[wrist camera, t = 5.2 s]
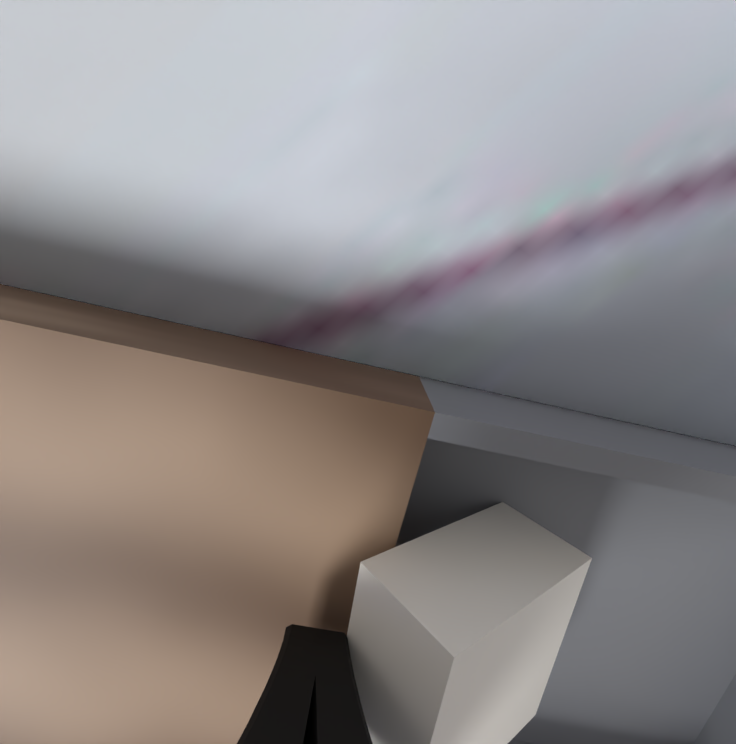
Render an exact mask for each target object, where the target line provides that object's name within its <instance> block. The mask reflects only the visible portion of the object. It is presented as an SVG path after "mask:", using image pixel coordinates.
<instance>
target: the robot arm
mask: <svg viewBox="0 0 736 744" xmlns="http://www.w3.org/2000/svg"><path fill="white" fill-rule="evenodd" d="M237 744H372V740H371V737H370V733H369V730H368V726H367V723H366V720H365V716H364V713H363V709H362V705H361V701H360V697H359V693H358V689H357V685H356V680H355V676H354V671H353V667H352V661H351V656H350V650H349V644H348V638H347V636H346V634H345V633H344V632H338V631H332V630H325V629H319V628H313V627H307V626H301V625H295V624H291V625H289V626H288V627H286V629H285V634H284V638H283V642H282V645H281V648H280V651H279V654H278V657H277V660H276V662H275V665H274V667H273V670H272V672H271V674H270V677H269V679H268V682H267V684H266V686H265V688H264V690H263V692H262V695H261V697H260V699H259V701H258V703H257V705H256V707H255V709H254V711H253V713H252V715H251V717H250V720H249V722H248V724H247V725H246V727H245V729H244V731H243V733H242V735H241V737H240V739H239V740H238V742H237Z"/></svg>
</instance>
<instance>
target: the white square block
mask: <svg viewBox="0 0 736 744" xmlns="http://www.w3.org/2000/svg"><path fill="white" fill-rule="evenodd" d="M591 560H592V558H591V557H590V556H588V555H586V554H585V553H583V552H582V551H580V550H578V549H577V548H575V547H574V546H572V545H571V544H569V543H567V542H566V541H564V540H563V539H561V538H559V537H558V536H556V535H555V534H553V533H551V532H550V531H548V530H547V529H545V528H543V527H542V526H540V525H539V524H537V523H535V522H534V521H532V520H531V519H529V518H527V517H526V516H524V515H523V514H521V513H520V512H518V511H516V510H515V509H513V508H512V507H510V506H508V505H507V504H505V503H504V502H501V503H499V504H496V505H494V506H492V507H489V508H487V509H485V510H482V511H480V512H477V513H475V514H473V515H470V516H468V517H466V518H463V519H461V520H458V521H456V522H454V523H451V524H449V525H447V526H444V527H442V528H439V529H437V530H435V531H432V532H430V533H428V534H425V535H423V536H420V537H418V538H416V539H413V540H411V541H409V542H406V543H404V544H401V545H399V546H397V547H394V548H392V549H390V550H387V551H385V552H383V553H380V554H378V555H375V556H373V557H371V558H368V559H366V560H364V561H361V562H360V568H359V573H358V578H357V584H356V589H355V594H354V600H353V605H352V610H351V616H350V621H349V626H348V632H347V638H348V644H349V650H350V656H351V661H352V667H353V671H354V676H355V680H356V685H357V689H358V693H359V697H360V701H361V705H362V709H363V713H364V716H365V720H366V723H367V726H368V730H369V733H370V737H371V740H372V744H508V743H509V742H510V741H511V740H512V739H513V738H514V737H515V736H516V735H517V734H518V732H519V731H520V730H521V729H522V728H523V727H524V726H525V725H526V724H527V723H528V722H529V721H530V720H531V719H532V718H533V717H534V716H535V715H536V712H537V709H538V707H539V704H540V701H541V698H542V695H543V693H544V690H545V687H546V684H547V682H548V679H549V676H550V673H551V671H552V668H553V665H554V662H555V659H556V657H557V654H558V651H559V648H560V646H561V643H562V640H563V637H564V634H565V632H566V629H567V626H568V623H569V621H570V618H571V615H572V612H573V610H574V607H575V604H576V601H577V598H578V596H579V593H580V590H581V587H582V585H583V582H584V579H585V576H586V573H587V571H588V568H589V565H590V562H591Z"/></svg>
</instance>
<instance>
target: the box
mask: <svg viewBox="0 0 736 744" xmlns="http://www.w3.org/2000/svg"><path fill="white" fill-rule="evenodd" d="M419 378H420V380H421V382H422V385H423V387H424V389H425V391H426V393H427V396H428V398H429V400H430V402H431V404H432V407H433V409H434V411H435V414H434V418H433V421H432V424H431V428H430V431H429V434H428V438H427V441H426V445H425V448H424V451H423V455H422V458H421V461H420V465H419V468H418V472H417V475H416V478H415V482H414V485H413V488H412V492H411V495H410V498H409V502H408V505H407V509H406V512H405V515H404V519H403V522H402V525H401V529H400V532H399V536H398V539H397V542H396V546H395V547H397V546H399V545H401V544H404V543H406V542H409V541H411V540H413V539H416V538H418V537H420V536H423V535H425V534H428V533H430V532H432V531H435V530H437V529H439V528H442V527H444V526H447V525H449V524H451V523H454V522H456V521H458V520H461V519H463V518H466V517H468V516H470V515H473V514H475V513H477V512H480V511H482V510H485V509H487V508H489V507H492V506H494V505H496V504H499V503H501V502H504V503H505V504H507V505H508V506H510V507H512V508H513V509H515V510H516V511H518V512H520V513H521V514H523V515H524V516H526V517H527V518H529V519H531V520H532V521H534V522H535V523H537V524H539V525H540V526H542V527H543V528H545V529H547V530H548V531H550V532H551V533H553V534H555V535H556V536H558V537H559V538H561V539H563V540H564V541H566V542H567V543H569V544H571V545H572V546H574V547H575V548H577V549H578V550H580V551H582V552H583V553H585V554H586V555H588V556H590V557H591V558H592V560H591V562H590V565H589V568H588V571H587V573H586V576H585V579H584V582H583V585H582V587H581V590H580V593H579V596H578V598H577V601H576V604H575V607H574V610H573V612H572V615H571V618H570V621H569V623H568V626H567V629H566V632H565V634H564V637H563V640H562V643H561V646H560V648H559V651H558V654H557V657H556V659H555V662H554V665H553V668H552V671H551V673H550V676H549V679H548V682H547V684H546V687H545V690H544V693H543V695H542V698H541V701H540V704H539V707H538V709H537V712H536V715H535V716H534V717H533V718H532V719H531V720H530V721H529V722H528V723H527V724H526V725H525V726H524V727H523V728H522V729H521V730H520V731H519V732H518V734H517V735H516V736H515V737H514V738H513V739H512V740H511V741H510V742H509V743H508V744H736V446H732V445H727V444H723V443H718V442H714V441H709V440H705V439H700V438H695V437H691V436H686V435H682V434H677V433H673V432H668V431H664V430H659V429H655V428H650V427H646V426H641V425H637V424H632V423H627V422H623V421H618V420H614V419H609V418H605V417H600V416H596V415H591V414H587V413H582V412H578V411H573V410H569V409H564V408H559V407H555V406H550V405H546V404H541V403H537V402H532V401H528V400H523V399H519V398H514V397H510V396H505V395H500V394H496V393H491V392H487V391H482V390H478V389H473V388H469V387H464V386H460V385H455V384H451V383H446V382H442V381H437V380H432V379H428V378H423V377H419Z"/></svg>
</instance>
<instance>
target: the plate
mask: <svg viewBox="0 0 736 744" xmlns="http://www.w3.org/2000/svg"><path fill="white" fill-rule="evenodd" d="M434 414H435V411H434V409H433V407H432V404H431V402H430V400H429V398H428V396H427V393H426V391H425V389H424V387H423V385H422V382H421V380H420V378H419V376H414V375H410V374H405V373H401V372H396V371H392V370H387V369H383V368H378V367H374V366H369V365H364V364H360V363H355V362H351V361H346V360H342V359H337V358H333V357H328V356H324V355H319V354H315V353H310V352H306V351H301V350H296V349H292V348H287V347H283V346H278V345H274V344H269V343H265V342H260V341H256V340H251V339H247V338H242V337H237V336H233V335H228V334H224V333H219V332H215V331H210V330H206V329H201V328H197V327H192V326H188V325H183V324H179V323H174V322H169V321H165V320H160V319H156V318H151V317H147V316H142V315H138V314H133V313H129V312H124V311H120V310H115V309H111V308H106V307H101V306H97V305H92V304H88V303H83V302H79V301H74V300H70V299H65V298H61V297H56V296H52V295H47V294H43V293H38V292H33V291H29V290H24V289H20V288H15V287H11V286H6V285H2V284H0V744H237V742H238V740H239V739H240V737H241V735H242V733H243V731H244V729H245V727H246V725H247V724H248V722H249V720H250V717H251V715H252V713H253V711H254V709H255V707H256V705H257V703H258V701H259V699H260V697H261V695H262V692H263V690H264V688H265V686H266V684H267V682H268V679H269V677H270V674H271V672H272V670H273V667H274V665H275V662H276V660H277V657H278V654H279V651H280V648H281V645H282V642H283V638H284V634H285V629H286V627H288V626H289V625H291V624H295V625H301V626H307V627H313V628H319V629H325V630H332V631H338V632H344V633H345V634H346V636H347V632H348V626H349V621H350V616H351V610H352V605H353V600H354V594H355V589H356V584H357V578H358V573H359V568H360V562H361V561H364V560H366V559H368V558H371V557H373V556H375V555H378V554H380V553H383V552H385V551H387V550H390V549H392V548H394V547H395V546H396V542H397V539H398V536H399V532H400V529H401V525H402V522H403V519H404V515H405V512H406V509H407V505H408V502H409V498H410V495H411V492H412V488H413V485H414V482H415V478H416V475H417V472H418V468H419V465H420V461H421V458H422V455H423V451H424V448H425V445H426V441H427V438H428V434H429V431H430V428H431V424H432V421H433V418H434Z"/></svg>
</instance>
